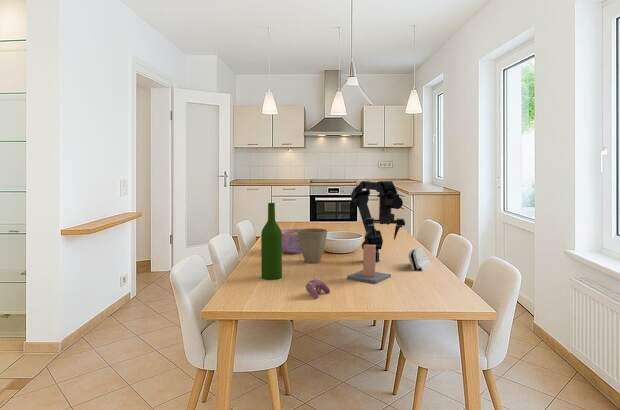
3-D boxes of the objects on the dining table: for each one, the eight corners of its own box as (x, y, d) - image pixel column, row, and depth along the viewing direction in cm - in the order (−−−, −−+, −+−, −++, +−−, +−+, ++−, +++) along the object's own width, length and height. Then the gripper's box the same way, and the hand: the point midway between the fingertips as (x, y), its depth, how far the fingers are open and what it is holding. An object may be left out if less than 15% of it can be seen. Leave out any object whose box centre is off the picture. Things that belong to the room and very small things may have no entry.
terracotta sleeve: (363, 273, 211) (364, 244, 210) (375, 274, 210) (375, 244, 209) (363, 276, 206) (363, 246, 205) (374, 276, 206) (375, 246, 204)
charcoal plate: (347, 278, 207) (347, 276, 207) (362, 272, 218) (362, 269, 218) (376, 283, 199) (376, 280, 199) (390, 276, 210) (390, 274, 210)
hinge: (422, 271, 222) (415, 250, 222) (413, 273, 224) (406, 252, 224) (430, 264, 236) (424, 244, 237) (421, 266, 239) (415, 247, 239)
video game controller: (322, 295, 187) (316, 278, 188) (331, 292, 184) (324, 275, 186) (308, 301, 179) (301, 284, 180) (317, 298, 176) (310, 280, 177)
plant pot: (326, 258, 249) (326, 228, 247) (328, 264, 234) (328, 232, 233) (297, 258, 248) (297, 228, 247) (297, 264, 234) (297, 232, 232)
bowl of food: (278, 248, 276) (278, 228, 275) (313, 249, 274) (313, 229, 273) (272, 255, 256) (272, 234, 255) (309, 256, 254) (310, 234, 253)
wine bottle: (272, 273, 215) (272, 201, 212) (286, 277, 209) (286, 203, 206) (257, 277, 209) (256, 202, 206) (270, 281, 202) (270, 204, 199)
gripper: (364, 208, 223) (364, 241, 224) (405, 209, 220) (405, 242, 221) (365, 206, 233) (365, 237, 235) (404, 206, 231) (404, 239, 232)
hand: (384, 239), depth 230 cm, fingers open, 9 cm apart
